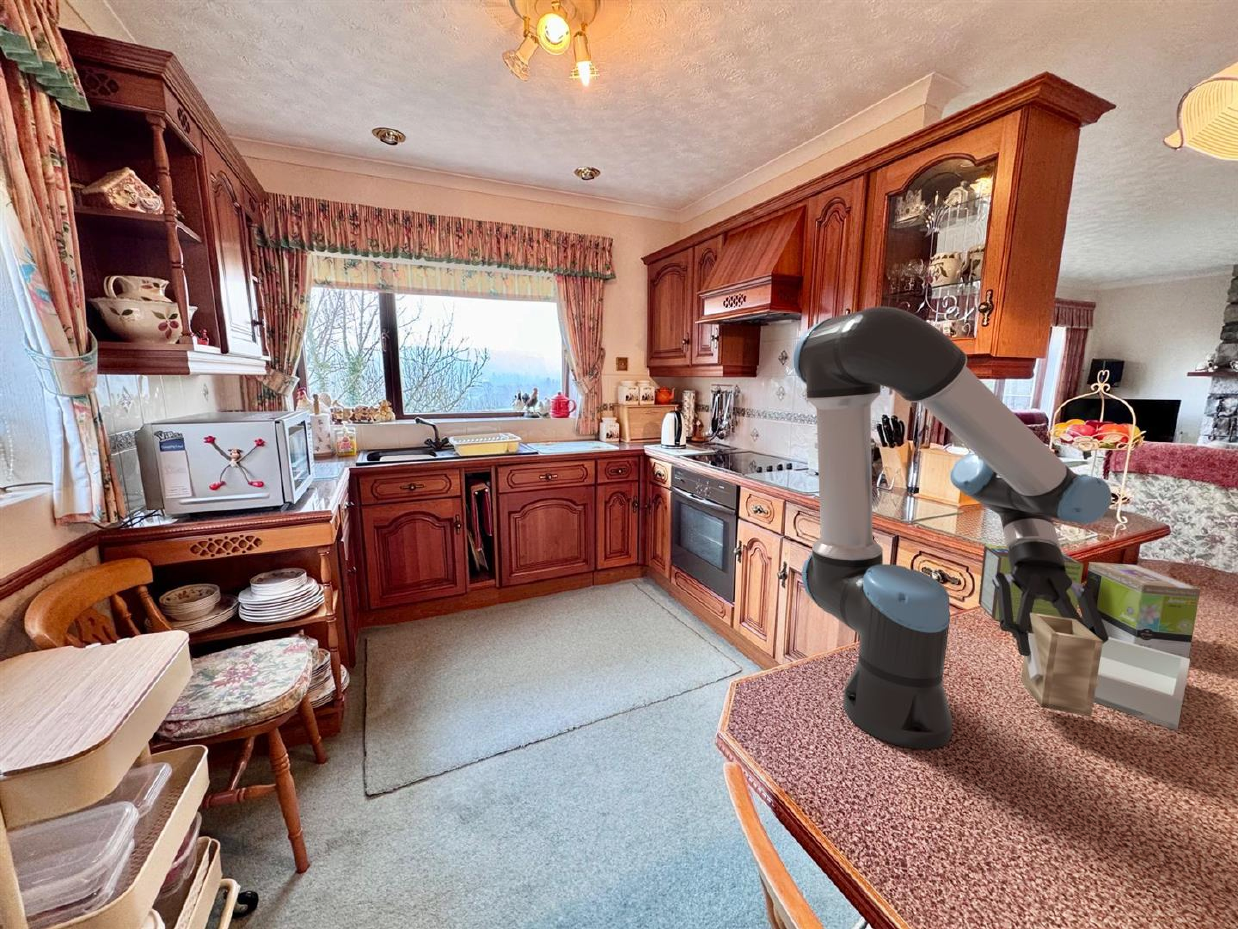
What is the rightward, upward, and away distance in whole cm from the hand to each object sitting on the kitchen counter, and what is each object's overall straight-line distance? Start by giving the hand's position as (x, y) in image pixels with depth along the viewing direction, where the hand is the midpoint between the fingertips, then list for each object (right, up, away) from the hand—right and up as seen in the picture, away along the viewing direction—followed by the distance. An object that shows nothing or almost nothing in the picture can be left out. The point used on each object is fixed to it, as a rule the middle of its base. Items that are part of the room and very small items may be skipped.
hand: (1063, 681), depth 75 cm
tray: (+20, -6, +13) cm, 25 cm away
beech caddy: (+1, -4, +2) cm, 4 cm away
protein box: (+28, -3, +41) cm, 49 cm away
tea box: (+41, -4, +30) cm, 51 cm away
